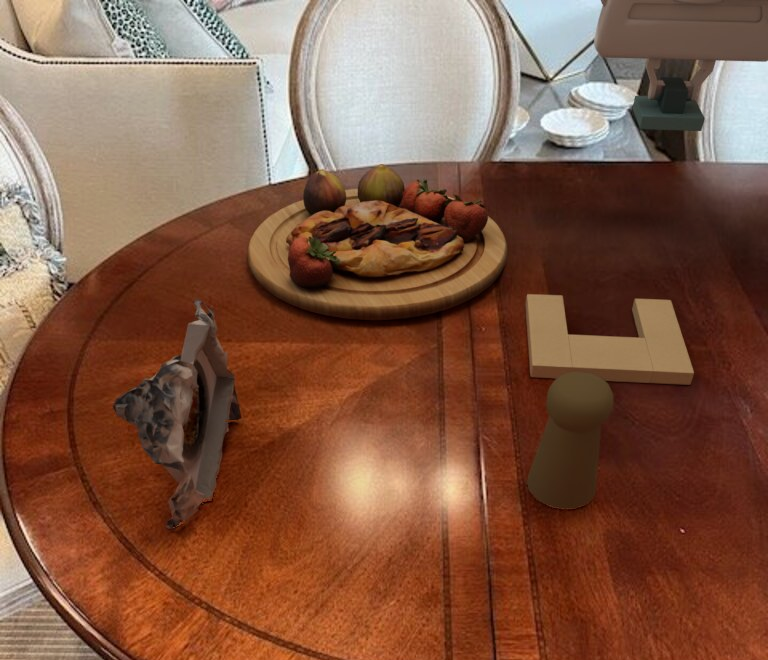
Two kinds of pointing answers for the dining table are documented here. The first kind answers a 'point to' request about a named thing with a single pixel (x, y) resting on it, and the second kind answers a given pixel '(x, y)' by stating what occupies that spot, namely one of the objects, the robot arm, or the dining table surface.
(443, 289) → the wooden plate
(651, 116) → the teal pad
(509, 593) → the dining table surface
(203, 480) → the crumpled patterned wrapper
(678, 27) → the robot arm
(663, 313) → the base pad
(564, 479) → the olive game pawn
